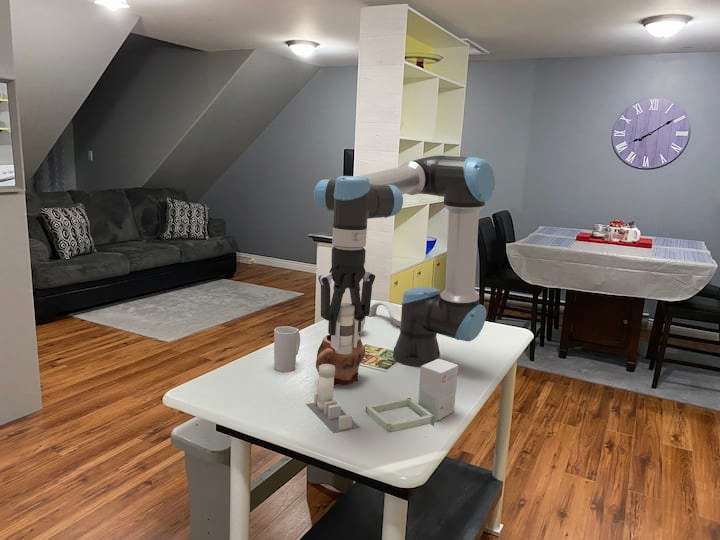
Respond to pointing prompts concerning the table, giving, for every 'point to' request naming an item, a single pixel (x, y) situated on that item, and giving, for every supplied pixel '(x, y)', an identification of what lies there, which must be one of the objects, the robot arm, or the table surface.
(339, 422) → the holder
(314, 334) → the table surface
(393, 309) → the grey curved piece
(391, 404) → the parts tray
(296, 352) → the mug
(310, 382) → the table surface
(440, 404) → the small box
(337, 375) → the decorative planter
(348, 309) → the light bulb
